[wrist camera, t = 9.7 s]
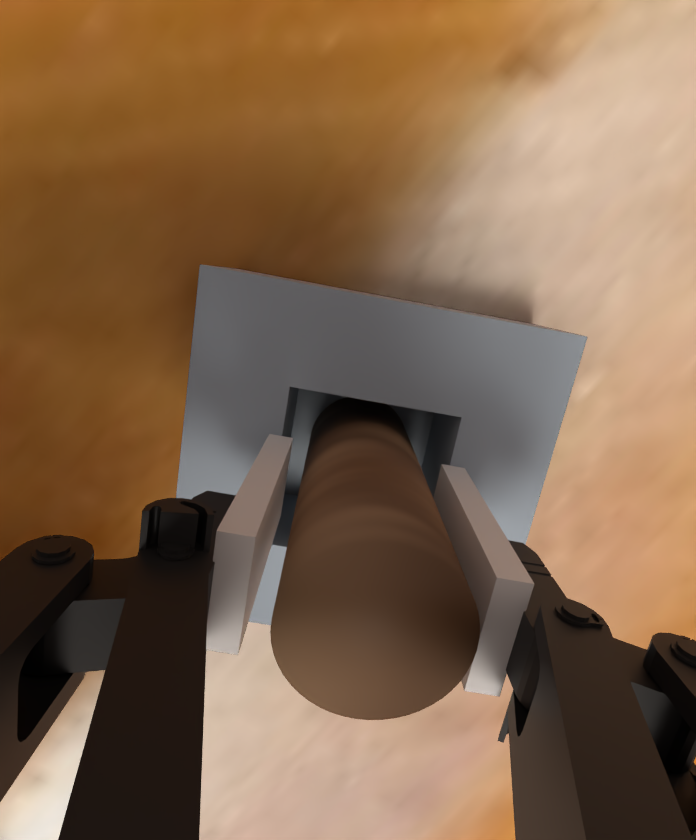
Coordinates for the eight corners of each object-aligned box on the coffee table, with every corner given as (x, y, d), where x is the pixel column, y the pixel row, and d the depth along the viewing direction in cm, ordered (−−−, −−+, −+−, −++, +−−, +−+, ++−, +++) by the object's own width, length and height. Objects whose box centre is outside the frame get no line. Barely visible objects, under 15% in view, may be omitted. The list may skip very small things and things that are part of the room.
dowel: (303, 479, 22) (257, 704, 10) (318, 387, 21) (287, 524, 9) (395, 494, 22) (452, 732, 11) (416, 405, 21) (503, 559, 9)
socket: (203, 540, 23) (164, 607, 19) (236, 268, 20) (200, 264, 15) (462, 583, 24) (490, 660, 19) (532, 323, 21) (587, 336, 16)
